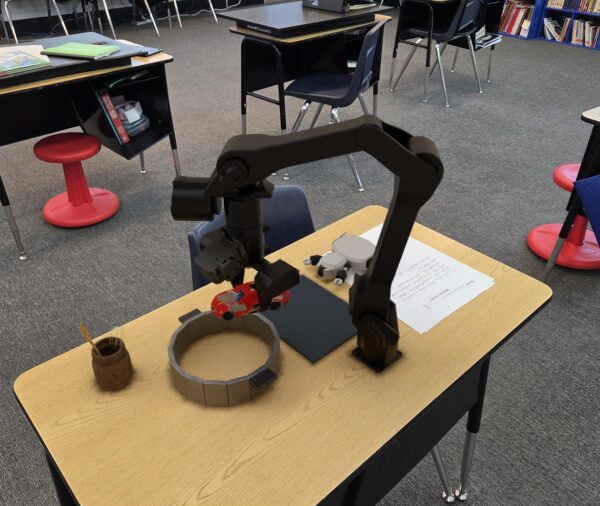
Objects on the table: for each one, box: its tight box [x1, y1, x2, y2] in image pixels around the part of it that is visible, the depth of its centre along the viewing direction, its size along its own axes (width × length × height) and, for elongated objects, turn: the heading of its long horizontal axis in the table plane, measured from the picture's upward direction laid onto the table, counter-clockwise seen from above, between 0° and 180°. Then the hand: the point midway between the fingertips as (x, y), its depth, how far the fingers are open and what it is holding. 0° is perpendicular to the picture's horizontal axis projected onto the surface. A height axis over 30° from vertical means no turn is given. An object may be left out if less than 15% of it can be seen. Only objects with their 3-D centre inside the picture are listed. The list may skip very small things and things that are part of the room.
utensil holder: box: [78, 322, 134, 391], centre depth 87 cm, size 6×6×12 cm
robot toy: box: [302, 229, 376, 286], centre depth 116 cm, size 12×4×15 cm
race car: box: [210, 280, 290, 321], centre depth 90 cm, size 13×5×4 cm, turn 106°
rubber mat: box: [258, 274, 357, 364], centre depth 103 cm, size 20×16×1 cm
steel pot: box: [167, 307, 281, 408], centre depth 91 cm, size 22×18×5 cm
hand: (250, 301), depth 90 cm, fingers closed on race car, 6 cm apart
